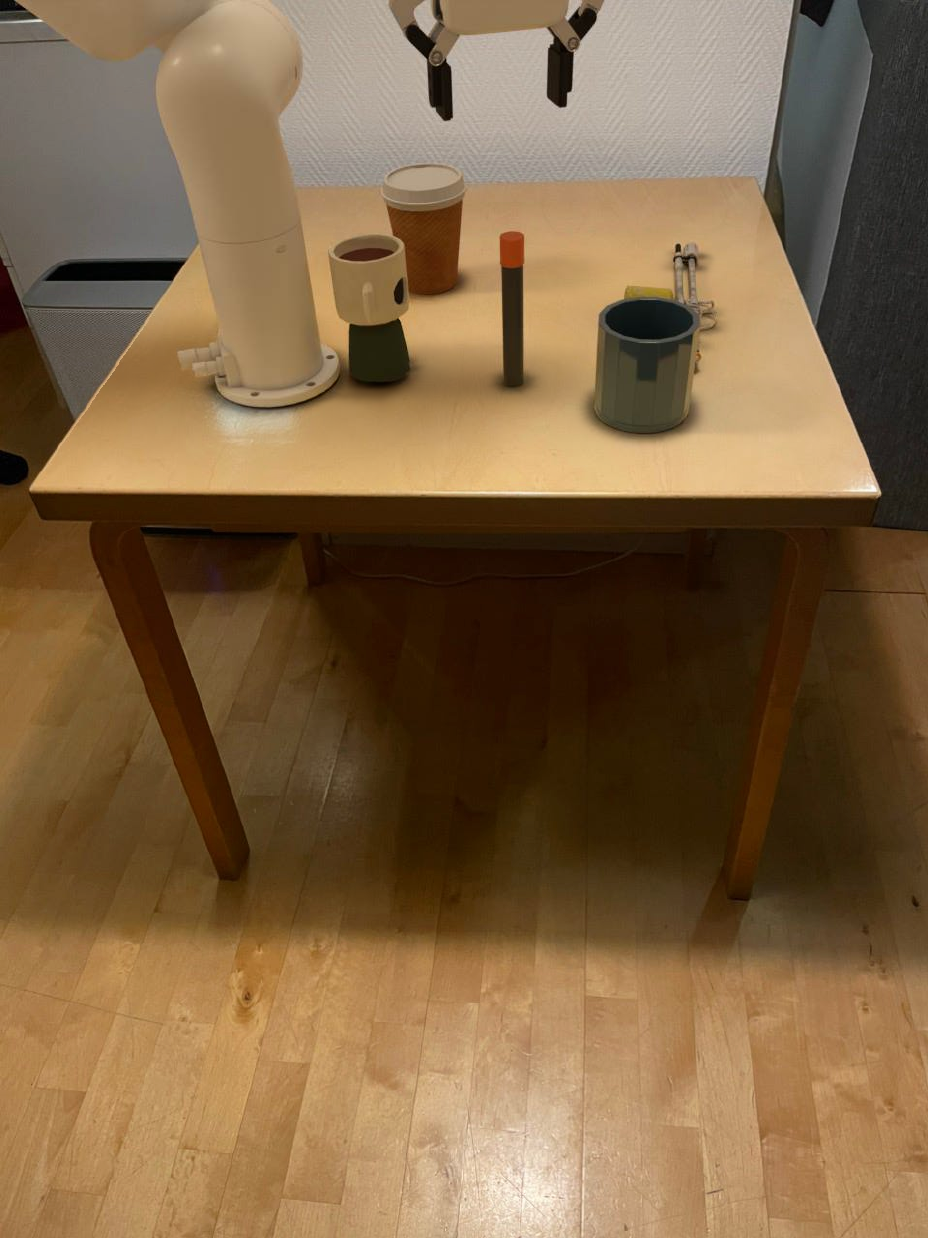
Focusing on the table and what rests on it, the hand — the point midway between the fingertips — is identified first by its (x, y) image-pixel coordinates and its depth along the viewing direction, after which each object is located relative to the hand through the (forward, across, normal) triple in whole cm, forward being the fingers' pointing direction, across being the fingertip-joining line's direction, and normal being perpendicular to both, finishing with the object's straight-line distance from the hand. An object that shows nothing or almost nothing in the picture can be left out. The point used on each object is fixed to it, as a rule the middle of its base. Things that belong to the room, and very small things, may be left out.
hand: (500, 109), depth 80 cm
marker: (+25, -1, +1) cm, 25 cm away
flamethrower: (+25, -22, -8) cm, 34 cm away
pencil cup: (+24, -11, +10) cm, 28 cm away
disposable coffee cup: (+25, +1, -24) cm, 35 cm away
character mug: (+25, +11, -5) cm, 28 cm away
